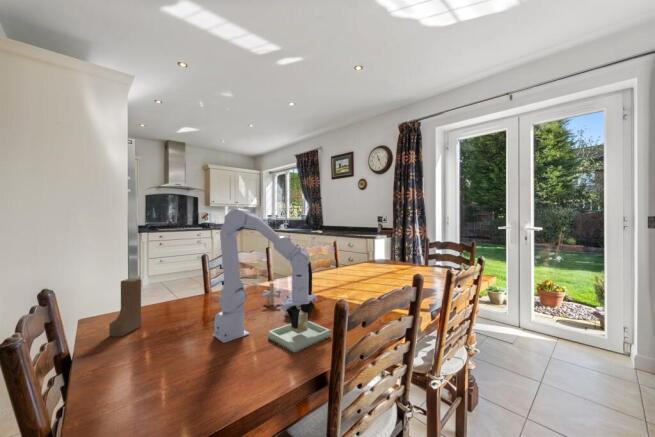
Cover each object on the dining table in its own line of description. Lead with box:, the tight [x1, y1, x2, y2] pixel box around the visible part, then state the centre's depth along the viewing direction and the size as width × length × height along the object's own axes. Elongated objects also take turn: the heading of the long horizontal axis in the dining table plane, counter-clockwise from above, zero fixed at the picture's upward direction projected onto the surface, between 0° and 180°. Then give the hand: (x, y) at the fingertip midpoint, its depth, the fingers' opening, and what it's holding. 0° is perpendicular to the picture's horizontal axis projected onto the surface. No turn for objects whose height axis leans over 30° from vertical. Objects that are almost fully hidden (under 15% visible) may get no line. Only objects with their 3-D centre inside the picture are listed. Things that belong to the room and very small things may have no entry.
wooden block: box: [108, 277, 142, 338], centre depth 99 cm, size 9×4×18 cm, turn 173°
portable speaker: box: [307, 261, 313, 295], centre depth 133 cm, size 9×9×20 cm
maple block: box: [290, 309, 309, 334], centre depth 95 cm, size 4×4×6 cm
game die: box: [283, 295, 301, 317], centre depth 116 cm, size 9×8×10 cm
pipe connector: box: [261, 282, 282, 306], centre depth 130 cm, size 10×10×10 cm
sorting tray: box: [267, 320, 332, 354], centre depth 95 cm, size 16×14×2 cm
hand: (299, 325), depth 95 cm, fingers closed on maple block, 4 cm apart
